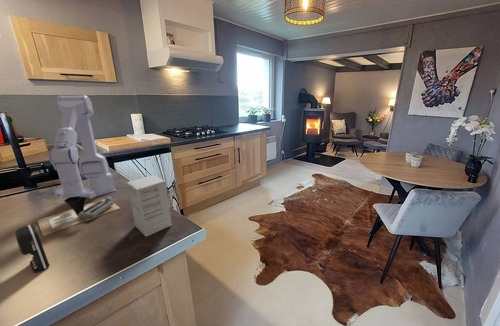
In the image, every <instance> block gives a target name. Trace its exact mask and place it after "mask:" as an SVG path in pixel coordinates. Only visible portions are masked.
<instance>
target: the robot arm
mask: <svg viewBox="0 0 500 326" xmlns="http://www.w3.org/2000/svg"><path fill="white" fill-rule="evenodd" d="M56 106H57V108H58V109H59V111H60V113H61V126H60V127H61V128H59V129H57V131H56V134H55V139H54V140H55V141H54V146H53V148H51V149H50V150H49V151H48V160H49V162H50V164H51V165H52V166H53V169H54V170H55V171H56V172H57V174H58V178H59V182H60V185H61V188H62V189H57V190H55V191H53V193H54V197H55V198H58V197H61V198H62V199H64V202H65V203H66V204H67V205H69V206H70V207H71V208H72V209H73V210H74V211H75V213H76V214H77V215H79V214H78V213H80V212H82V211H83V210H84V205H85V203H86V200H87V198H88V199H93V198H96V197H99V196H102V195H106V194H109V193H112V192H116V191H117V189H116V185H115V183H114V177H113V174H112V172H110V171H109V163H108V161H107V158H106V156H104V155H103V154H101V153H98V150H97V146H96V141H95V140H96V139H95V135H94V131H93V128H92V122H91V116H94V108H93V107H94V106H93V103H92V101H91V98H90V97H89V96H88V95H86V94H84V95H58V96H57V97H56ZM76 125H77V129H78V130H77V131H78V132H76V131H75V129H76ZM78 134H79V138H80V143H81V147H82V152H83V156H81V158H79V152H78V150H79V149H78V147H77V144H78V142H77V140H78ZM78 165H79V166H78ZM81 175H82V176H84V177H85V178H86V179H87V180H86V181H87V183H88V187H89V189H87V188H85V187H84V185H83V180H82V178H81V177H82V176H81Z"/></svg>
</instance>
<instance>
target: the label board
mask: <svg viewBox="0 0 500 326" xmlns="http://www.w3.org/2000/svg"><path fill="white" fill-rule="evenodd" d="M98 201H105V198H103V199H101V200H96V201H94V202H90V203H88V204H84V210H85V209H87V208H88V207H90V206H92V205H93V204H95V203H97V202H98ZM113 203H114V204H113V205H112V206H110V207H109V208H107V209H106V210H104V211H103V212H101V213H100V214H98V215H97V216H95V217H82V216H79V215H77V214H76V213H75V211H74V210H73V209H69V210H64V211H61V212H59V213H56V214H55V213H54V214H52V215H49V216H45V217H43V218H40V219H37V220H36V221H37V224H38V226H39V229H40V231H41V234H42V236H43V237H46V236H49V235H51V234H54V233H57V232H60V231H62V230H66V229H68V228H71V227H74V226H76V225H80V224H82V223H85V222H89V221H90V220H93V219H96V218H99V217H101V216H105V215H107V214H110V213H112V212H115V211H117V210H120V209H121V207H120V206H118V205H117V204H116V203H115V202H114V201H113Z"/></svg>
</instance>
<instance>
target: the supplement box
mask: <svg viewBox="0 0 500 326" xmlns="http://www.w3.org/2000/svg"><path fill="white" fill-rule="evenodd" d="M126 188H127V192H128V196H129V199H130V201H129V202H130V205H131V209H132V216H133V221H134V226H135V227H136V229H138V231H140V232H141V234H142V235H144V237H145V238H147V237H149V236H151V235H153V234H155V233H158V232H160V231H162V230H164V229H166V228H169V227H172V225H173V223H172V216H171V210H170V203H169V196H168V189H167V183H166V180H163V179H162V178H160V177H158V176H156V175H154V174H153V175H148V176H144V177H142V178H137V179H134V180H130V181H128V182H126Z"/></svg>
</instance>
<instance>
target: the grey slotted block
mask: <svg viewBox="0 0 500 326" xmlns="http://www.w3.org/2000/svg"><path fill="white" fill-rule="evenodd" d="M104 199H105V201H99V200H97V201H98V202H97V203H95V204H93V205H92V206H90V207H88V208H87V209H85V210H83V211H82V212H80V213H78V214H79V216H82V217H95V216H97V215H98V214H100V213H101V212H103V211H104V210H106V209H107V208H109V207H110V206H112V205H113V204H114V203H115V202H114V201H113V198H112V196H106V197H104ZM113 202H114V203H113Z"/></svg>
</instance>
